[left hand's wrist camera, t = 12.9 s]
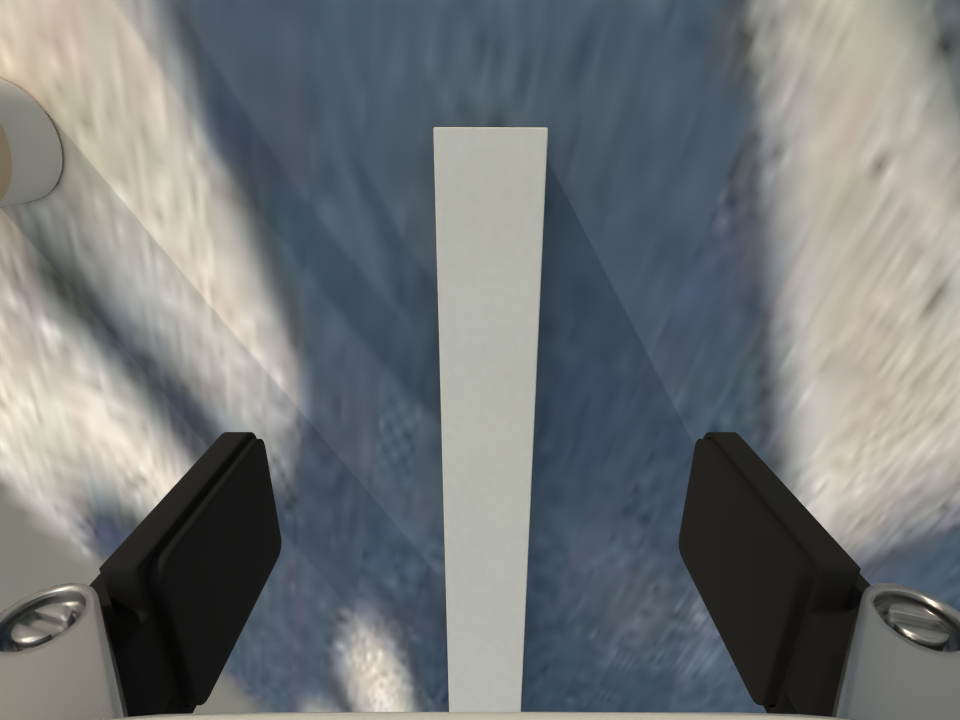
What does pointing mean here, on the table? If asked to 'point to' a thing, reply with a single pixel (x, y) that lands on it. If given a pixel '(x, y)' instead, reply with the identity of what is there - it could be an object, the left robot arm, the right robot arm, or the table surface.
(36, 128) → the coffee cup
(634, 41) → the table surface
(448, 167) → the post
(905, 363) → the table surface
